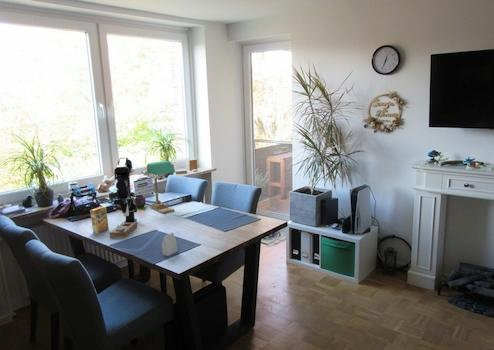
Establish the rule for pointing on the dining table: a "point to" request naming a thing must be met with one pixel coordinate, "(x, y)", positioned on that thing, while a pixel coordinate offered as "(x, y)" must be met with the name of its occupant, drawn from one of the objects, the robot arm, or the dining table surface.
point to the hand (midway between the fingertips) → (125, 212)
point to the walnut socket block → (126, 230)
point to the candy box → (99, 219)
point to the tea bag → (169, 244)
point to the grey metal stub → (120, 227)
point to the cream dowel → (126, 211)
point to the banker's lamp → (156, 169)
